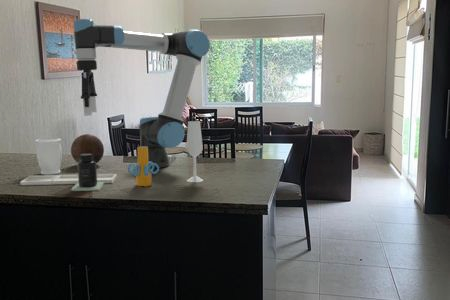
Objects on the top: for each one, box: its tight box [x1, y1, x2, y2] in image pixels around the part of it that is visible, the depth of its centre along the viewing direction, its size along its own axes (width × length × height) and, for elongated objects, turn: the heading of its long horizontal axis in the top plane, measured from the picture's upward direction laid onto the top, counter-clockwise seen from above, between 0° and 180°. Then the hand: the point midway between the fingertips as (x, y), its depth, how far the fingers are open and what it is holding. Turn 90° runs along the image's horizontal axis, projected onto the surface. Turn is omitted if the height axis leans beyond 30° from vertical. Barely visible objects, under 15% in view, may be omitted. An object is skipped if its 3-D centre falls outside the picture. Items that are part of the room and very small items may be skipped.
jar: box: [35, 137, 63, 175], centre depth 202 cm, size 11×10×15 cm
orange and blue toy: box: [127, 145, 160, 187], centre depth 179 cm, size 12×10×15 cm
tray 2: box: [97, 173, 118, 184], centre depth 188 cm, size 11×11×1 cm
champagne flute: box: [185, 120, 204, 183], centre depth 186 cm, size 7×7×24 cm
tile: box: [70, 182, 105, 192], centre depth 176 cm, size 10×10×1 cm
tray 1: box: [19, 174, 59, 186], centre depth 186 cm, size 11×11×1 cm
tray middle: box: [51, 174, 79, 186], centre depth 187 cm, size 11×11×1 cm
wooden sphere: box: [70, 133, 105, 164], centre depth 219 cm, size 15×15×15 cm
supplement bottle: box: [77, 154, 98, 187], centre depth 175 cm, size 7×7×12 cm
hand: (90, 113), depth 185 cm, fingers open, 13 cm apart
